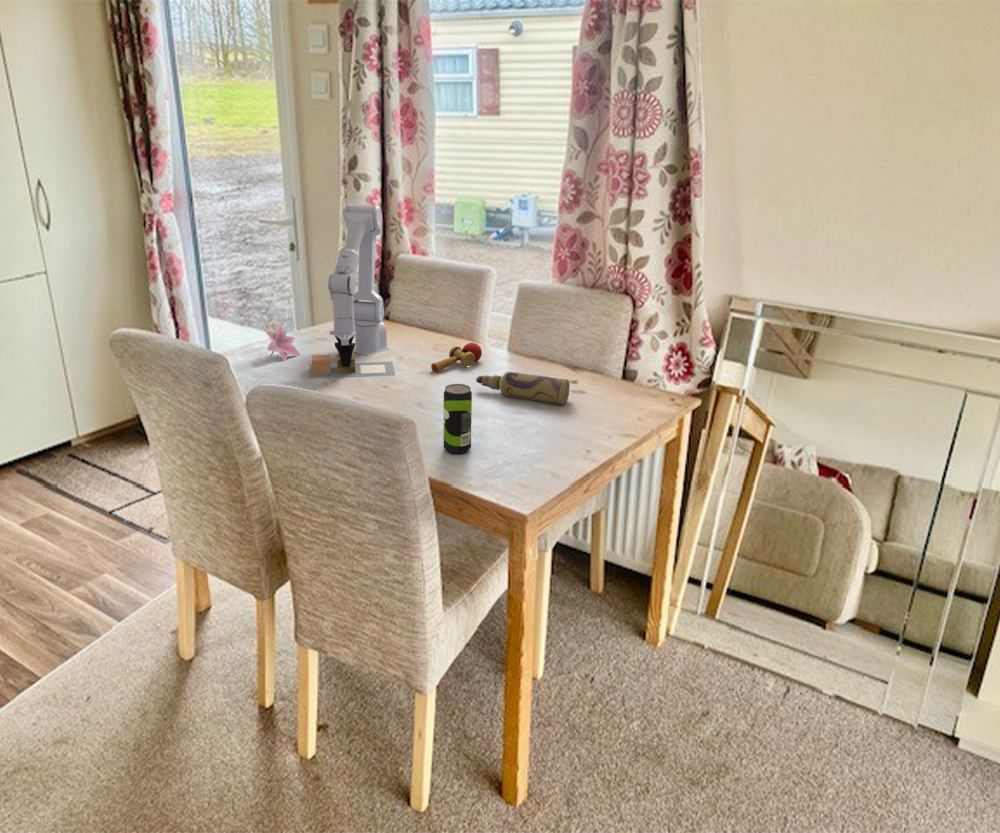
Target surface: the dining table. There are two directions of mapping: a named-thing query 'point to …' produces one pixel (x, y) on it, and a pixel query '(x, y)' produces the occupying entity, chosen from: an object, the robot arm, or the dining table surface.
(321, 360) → the terracotta block
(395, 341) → the dining table surface
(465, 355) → the kendama
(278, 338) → the lily
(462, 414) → the beverage can
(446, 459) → the dining table surface
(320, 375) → the board
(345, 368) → the walnut block
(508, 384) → the decorative bottle
